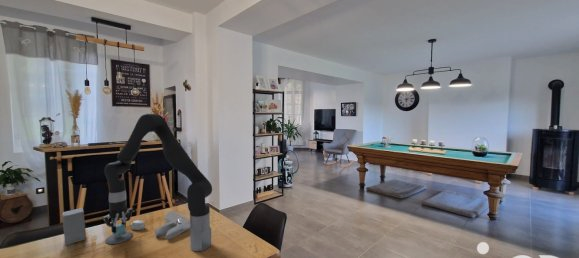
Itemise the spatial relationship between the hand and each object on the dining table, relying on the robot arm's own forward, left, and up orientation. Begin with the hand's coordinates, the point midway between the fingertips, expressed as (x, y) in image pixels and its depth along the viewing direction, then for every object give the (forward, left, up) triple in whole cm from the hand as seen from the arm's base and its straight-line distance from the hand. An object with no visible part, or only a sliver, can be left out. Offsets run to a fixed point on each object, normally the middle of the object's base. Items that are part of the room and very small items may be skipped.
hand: (119, 230), depth 127 cm
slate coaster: (0, 0, -4) cm, 4 cm away
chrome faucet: (-15, -19, -5) cm, 25 cm away
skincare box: (+17, +13, -4) cm, 22 cm away
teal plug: (0, 0, -2) cm, 2 cm away
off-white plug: (+3, -11, -4) cm, 12 cm away
